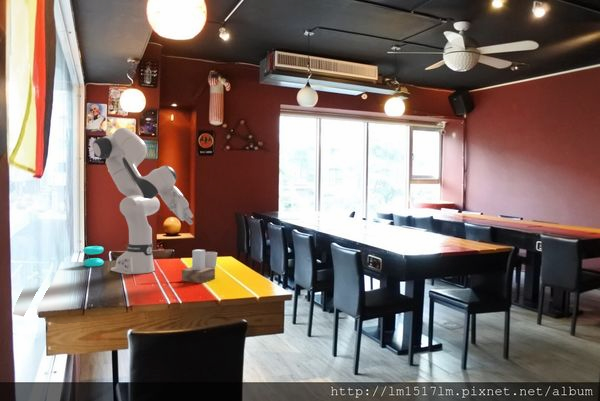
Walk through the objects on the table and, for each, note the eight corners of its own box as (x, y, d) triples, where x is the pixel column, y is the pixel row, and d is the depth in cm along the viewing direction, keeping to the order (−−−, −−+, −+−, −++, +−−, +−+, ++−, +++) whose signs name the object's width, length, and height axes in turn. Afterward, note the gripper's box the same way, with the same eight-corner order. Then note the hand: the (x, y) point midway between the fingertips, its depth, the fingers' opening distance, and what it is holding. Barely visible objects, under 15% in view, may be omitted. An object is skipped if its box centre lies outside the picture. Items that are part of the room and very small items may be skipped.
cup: (202, 270, 239) (202, 255, 239) (194, 267, 245) (194, 253, 245) (219, 267, 247) (220, 253, 246) (212, 265, 253) (212, 251, 252)
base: (181, 280, 215) (181, 269, 215) (196, 276, 225) (196, 266, 225) (200, 283, 211) (201, 272, 210) (214, 278, 221) (214, 268, 220)
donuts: (87, 249, 239) (80, 246, 246) (87, 268, 239) (80, 265, 246) (106, 247, 246) (99, 245, 253) (106, 265, 246) (99, 263, 253)
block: (192, 269, 216) (192, 250, 216) (196, 267, 220) (196, 249, 220) (200, 270, 215) (200, 251, 215) (205, 268, 219) (205, 249, 219)
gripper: (179, 186, 209) (198, 209, 207) (179, 202, 227) (196, 223, 225) (167, 193, 206) (186, 216, 204) (168, 209, 224) (185, 230, 223)
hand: (191, 220), depth 215 cm, fingers open, 8 cm apart
